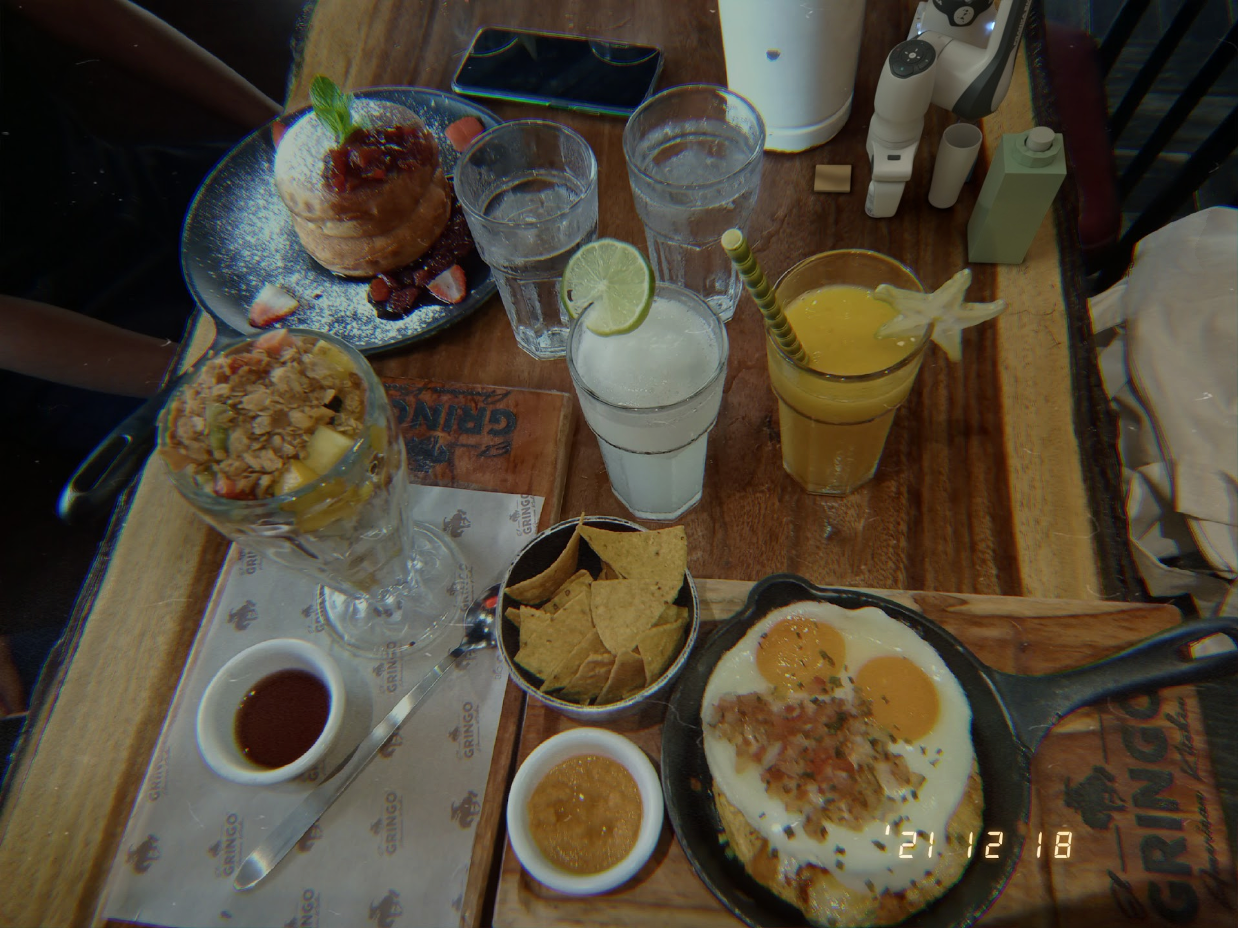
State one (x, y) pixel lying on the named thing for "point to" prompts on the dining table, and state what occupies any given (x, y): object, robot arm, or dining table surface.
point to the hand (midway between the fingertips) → (880, 197)
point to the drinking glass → (953, 163)
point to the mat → (832, 178)
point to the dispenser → (1014, 199)
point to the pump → (1040, 139)
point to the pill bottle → (870, 200)
